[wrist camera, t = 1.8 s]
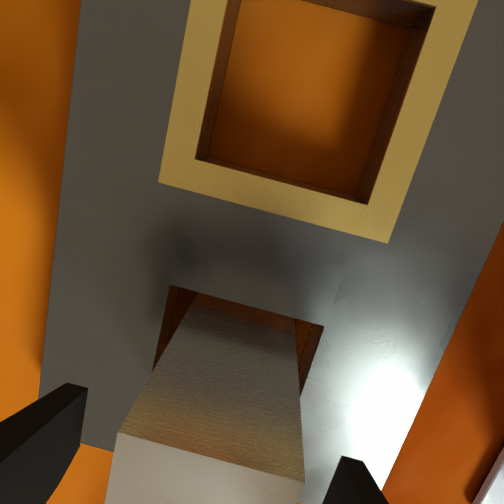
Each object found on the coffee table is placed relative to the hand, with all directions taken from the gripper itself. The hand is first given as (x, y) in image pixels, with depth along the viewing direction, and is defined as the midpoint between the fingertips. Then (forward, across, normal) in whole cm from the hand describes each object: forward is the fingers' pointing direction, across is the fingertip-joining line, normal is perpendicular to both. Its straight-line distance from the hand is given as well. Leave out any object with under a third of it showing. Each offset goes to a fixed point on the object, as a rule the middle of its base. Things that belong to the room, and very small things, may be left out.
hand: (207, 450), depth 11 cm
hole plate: (+6, 0, -5) cm, 8 cm away
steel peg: (+6, 0, 0) cm, 6 cm away
